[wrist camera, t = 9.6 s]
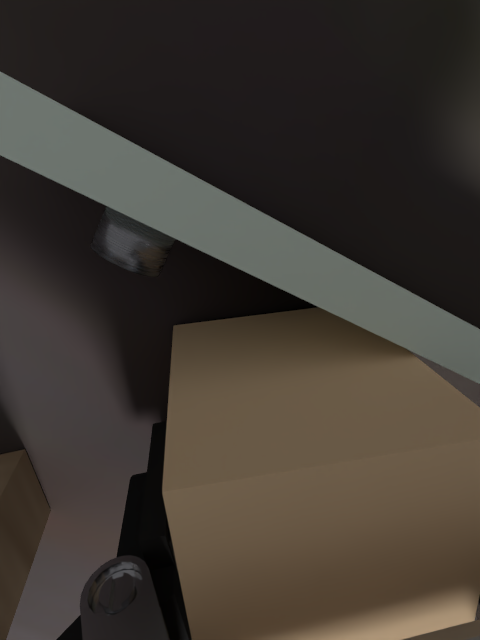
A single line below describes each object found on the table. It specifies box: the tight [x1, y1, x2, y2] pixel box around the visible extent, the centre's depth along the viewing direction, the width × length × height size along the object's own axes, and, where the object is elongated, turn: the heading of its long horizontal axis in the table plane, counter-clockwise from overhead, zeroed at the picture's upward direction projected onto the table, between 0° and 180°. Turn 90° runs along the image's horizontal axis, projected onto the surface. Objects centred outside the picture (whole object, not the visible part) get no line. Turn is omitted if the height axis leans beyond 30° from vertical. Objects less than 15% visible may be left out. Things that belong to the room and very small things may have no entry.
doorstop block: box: [162, 307, 480, 640], centre depth 10 cm, size 5×8×6 cm, turn 5°
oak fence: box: [0, 449, 51, 640], centre depth 11 cm, size 25×2×4 cm, turn 97°
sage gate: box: [0, 72, 480, 384], centre depth 9 cm, size 15×2×4 cm, turn 62°
